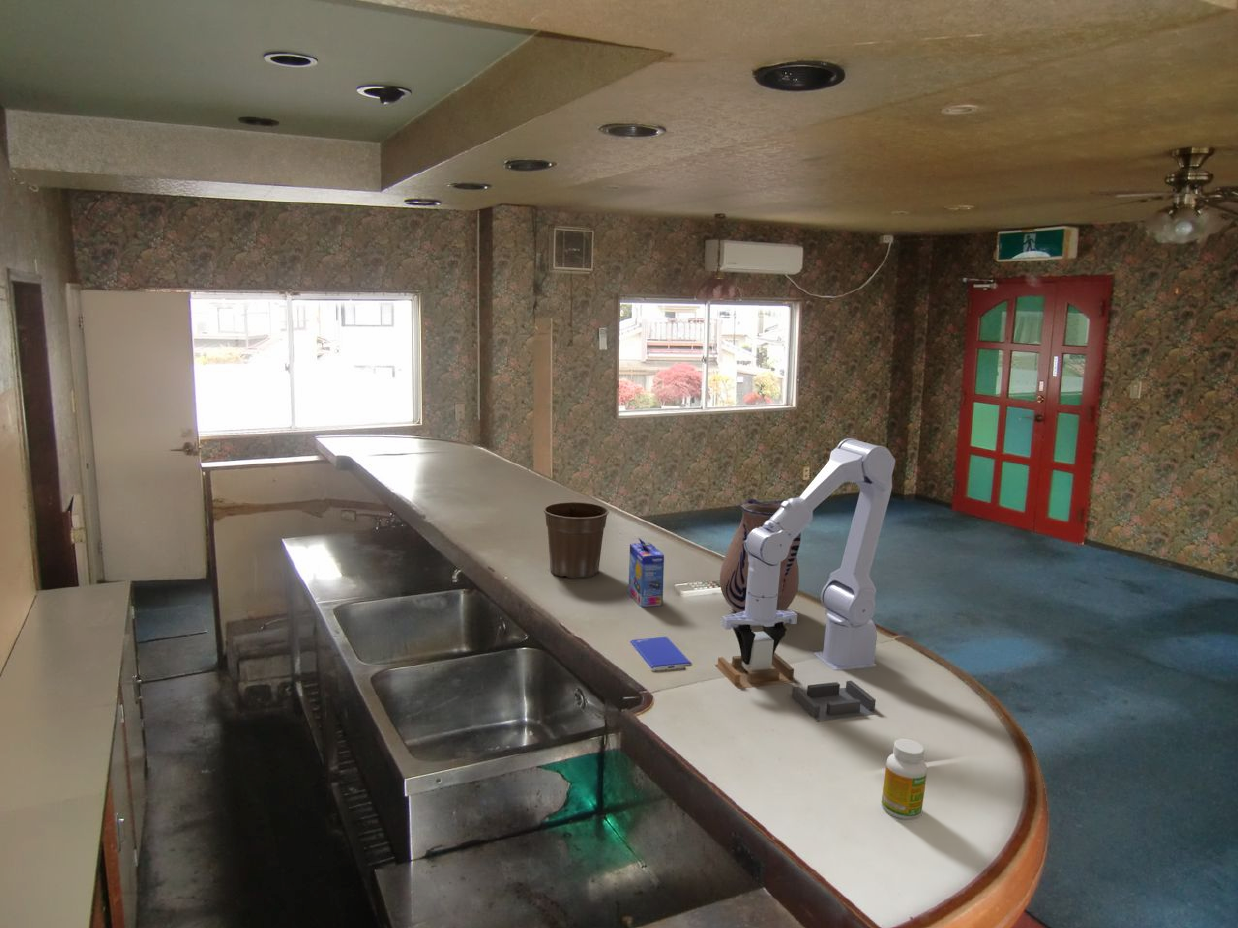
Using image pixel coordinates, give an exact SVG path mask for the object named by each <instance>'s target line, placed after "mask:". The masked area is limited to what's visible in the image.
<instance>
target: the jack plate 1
mask: <svg viewBox="0 0 1238 928" xmlns="http://www.w3.org/2000/svg"><path fill="white" fill-rule="evenodd" d="M731 658H732V660H731V663H729V662H728V660H726V658H724V657H718V658H717V664H714V666H715V667H716V668H717V670H718V671H720V673H722V675H724V676H725V677H726V678H727V679H728V680H729V681H730V683H731V684H732V685H733V686H734V687H735V688H736V689H738V690H740V689H745V688H746V689H748V688H759V687H767V686H775V685H787V684H794V683H797V681H796V680H795V678H794V673H795V668H793V667H792V666H791V665H790V664H789V663H788V662H787V661H785V660H784V659H783V658H782V657H781V656H779V655H778V654H777V653H776V651H775V652H774V655H773V657H772V664H771V669H765V670H755V671H747V670H746V669H745V668H744V667H743V666H742V660H741V655H736V656H735V655H734V656H732V657H731Z"/></svg>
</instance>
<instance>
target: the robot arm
mask: <svg viewBox="0 0 1238 928" xmlns="http://www.w3.org/2000/svg"><path fill="white" fill-rule="evenodd" d="M895 465H896V459H895V457H894V456H893V455H892V453H891V451H890V450H889V449H888V448H887V447H885V446H882V445H876V444H873V443H869V442H866V441H865V442H864V441H861V440H857V439H856V438H853V437H848V438H844V439H842V440H840V442H839V443H838V444H837V446H836V447H835V448H834V449H833V450H831V451H830V456H829V460H828V462H827V463H826V464H825V465H824V467H823V468H822V469H821V470H820V472H819V473H818V474H817V475H816V476H815V478H813V480H812V481H811V483H809V485H807V487H806V488H805V490H804V491H803V492H802V493H801V494H800V495H799V496H798V497H791V498H788V499H787V500H784V501H782V502H783V503H782V504H781V507H780V509H779V510H778V511H777V512H776V513H775V514H774V515H773V516H772V517H771V518H770V519H769V520H768V521H766V522H765V523H764V525H763V527H759V528H755V529H753V530H752V531H751V532H750V533H749V534H748V536H747V539H746V541H744V548H745V550H746V552H747V554H748V562H749V567H748V579H747V591H746V603H745V611H742V612H739V613H737V612H736V613H731V614H727V615H722V616H721V627H722V628H723V629H725V630H727V631H728V630H733V631H734V634H735V636H736V638H737V642H738V643H737V644H738V646H739V650H740V656H741V660H742V661H743V662H744V663H745V664H746V665H749V663H750V658H751V650H752V645H753V641H754V638H755V636H756V635H755V634H754V633H753V631H752V630H753V629H752V628H751V627H755V626H756V627H757V626H762V632H765V633H766V634H767V635H768V636H770V637H771V638H772V639H773V640H774V643H773V654H772V657H773V655H774V652H775V653H776V650H777V647H778V645H779V644H780V642H781V641H782V639H783V637H784V636H785V635H786V634H787V627H786V626H785V625H784V624H791V625H795V624H796V625H797V622H798V621H797V620H798V613H796V612H795V611H793V610H785V611H781V610H776V609H777V598H778V587H779V576H780V565H781V562H782V561H783V560H784V559H786V557H787V556H788V553H789V549H790V546H791V545H792V542H793V540H794V539H795V538H796V537H797V536H798V534H799V533H800V532H801V533H802V532H803V530H805V528H806V527H807V526H808V525H809V524H811V522H812V521H813V518H814V510H815V509H816V508H817V507H818V506H819V505H820V504H821V503H822V502H823V501H825V500H826V499H827V498H828V497H829V496H830V495H831V494H832V493H834V491H836V490H837V489H838V488H839V487H840V486H842V484H844V483H855V485H856V486H857V487H858V489H859V494H858V497H857V503H856V506H855V510H854V513H853V514H854V515H853V517H852V521H851V526H850V530H849V533H848V537H847V541H846V545H845V549H844V553H843V557H842V561H841V564H840V567H839V568H838V569H836V570H834V571H832V572H830V574H829V578H828V581H827V582H826V584H825V585H824V586H823V588H822V589H821V590H822V591H821V593H820V602H821V604H822V607H824V608H825V612H824V613H825V615H826V623H825V631H824V643H823V650H822V651H816V652H813V654H814V655H815V656H816V657H818V659H820V660H821V661H822V662H824V663H825V664H826V665H827V666H829V667H830V668H831V669H832V670H834V671H842V670H850V669H860V668H861V669H862V668H869V667H870V668H871V667H877V664H876V663H875V656H876V649H877V641H878V640H877V639H878V632H877V627H876V625H875V623H874V621H873V620H872V618H873V617H874V614H875V612H876V608H877V607H876V605H877V604H876V593H877V588H876V586H875V584H874V582H873V581H872V579H871V576H870V572H871V569H872V565H873V561H874V559H875V554H876V550H877V547H878V542H879V539H880V535H881V532H882V531H881V530H882V527H883V524H884V519H885V516H886V513H887V508H888V504H889V501H890V497H891V492H892V488H893V479H892V478H893V472H894V469H895Z"/></svg>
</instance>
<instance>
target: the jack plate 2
mask: <svg viewBox="0 0 1238 928" xmlns="http://www.w3.org/2000/svg"><path fill="white" fill-rule="evenodd" d="M806 688H807V690H806V691H803V690H802V689H801V688H800V687H799V686H792V690H791V693H788V696H789V697H790V698H791V699H792V700H793V701H795V703H796V704H798V705H799V706H800V707H801V708H802V709H803V710H804V711H805V712H806V713H808V715H810V716H811V717H812V718H813V719H814V720H815V721H816V722H819V723H820V722H826V721H827V722H828V721H835V720H843V719H850V718H851V719H852V718H859V717H866V716H875V715H879V713H878V712H877V711H876V710H875V709H876V701H877V700H876V699H875V698H874V697H873V696H872V695H870V694H869V693H868V692H866V691H865V690H864V689H863V688H862V687H860V686H859V685H858V684H856V683H855V682H854V681H852V680H846V683H845V687H842V688H841V684H840V683H839V682H838V681H835V682H825V683H817V684H808V685H807V687H806Z"/></svg>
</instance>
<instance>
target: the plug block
mask: <svg viewBox="0 0 1238 928" xmlns="http://www.w3.org/2000/svg"><path fill="white" fill-rule="evenodd" d="M752 632H753V631H752ZM753 633H754V634H755V635H756V636H755V638H754V641H753V645H752V650H751V658H750V663H749V665H746V664H745V663H744V662H743V661H742V666H743V667H744V668H745V669H746V670H747V671H755V670H765V669H771V664H772V654H773V643H774V640H773V639H772V638H771V637H770V636H768V635H767V634H766V633H765V632H763V631H755V632H753Z"/></svg>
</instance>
